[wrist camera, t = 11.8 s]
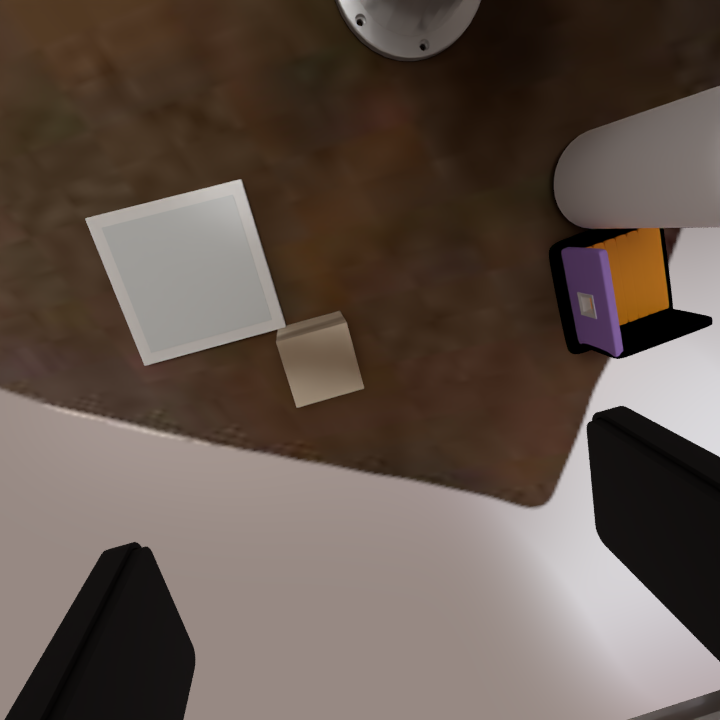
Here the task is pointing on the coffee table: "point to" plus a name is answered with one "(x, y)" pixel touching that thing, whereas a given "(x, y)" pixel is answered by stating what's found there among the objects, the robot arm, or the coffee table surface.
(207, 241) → the plate
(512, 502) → the coffee table surface
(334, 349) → the maple cube
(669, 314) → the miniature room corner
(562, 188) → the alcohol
